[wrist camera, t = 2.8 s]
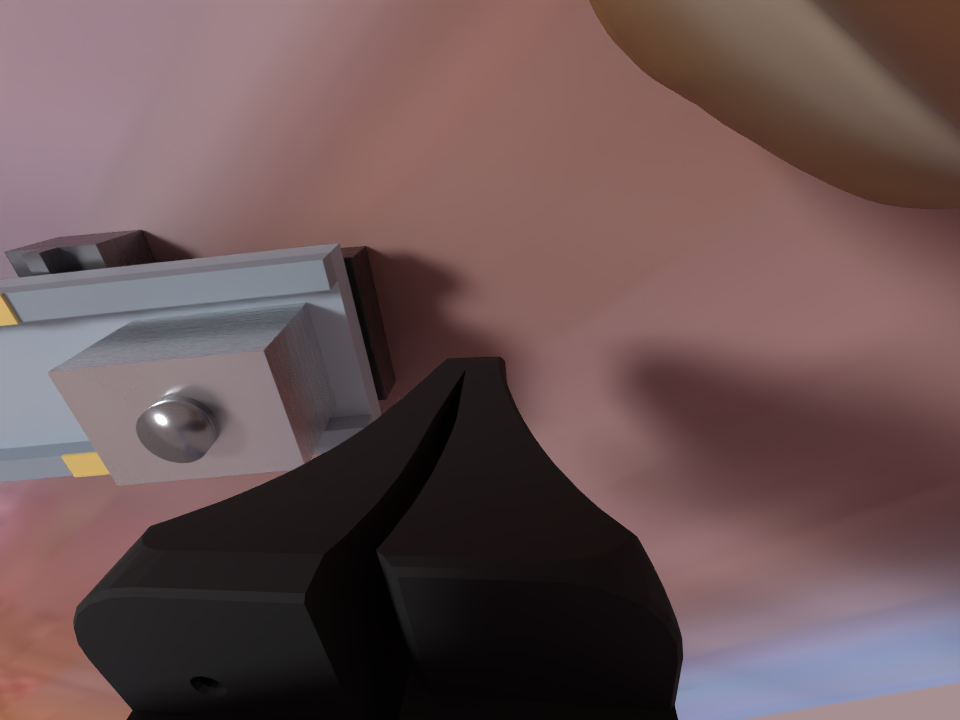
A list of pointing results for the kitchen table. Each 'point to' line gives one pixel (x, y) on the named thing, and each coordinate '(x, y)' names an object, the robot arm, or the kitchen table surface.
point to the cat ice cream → (817, 83)
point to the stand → (135, 251)
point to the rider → (202, 394)
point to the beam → (151, 294)
